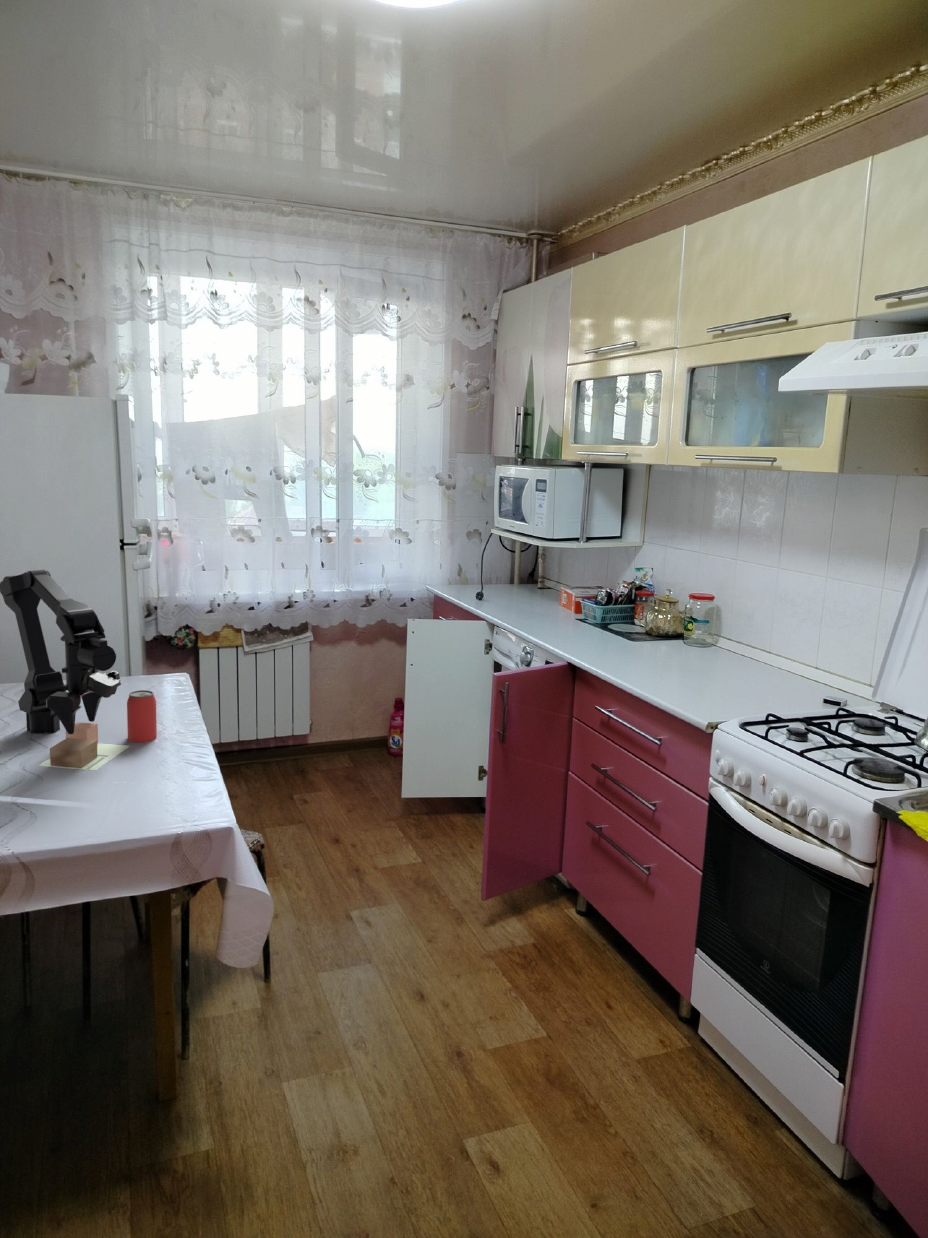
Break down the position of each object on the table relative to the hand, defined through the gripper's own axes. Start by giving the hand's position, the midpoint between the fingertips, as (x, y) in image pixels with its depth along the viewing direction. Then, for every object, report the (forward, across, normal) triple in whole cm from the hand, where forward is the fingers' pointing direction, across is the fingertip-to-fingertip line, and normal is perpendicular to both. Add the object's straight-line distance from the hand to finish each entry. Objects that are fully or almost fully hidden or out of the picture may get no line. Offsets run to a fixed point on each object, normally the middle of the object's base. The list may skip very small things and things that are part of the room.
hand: (81, 727), depth 197 cm
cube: (+5, 0, 0) cm, 5 cm away
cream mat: (+5, -5, -4) cm, 8 cm away
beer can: (+6, +9, -10) cm, 15 cm away
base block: (+5, -9, -3) cm, 11 cm away
